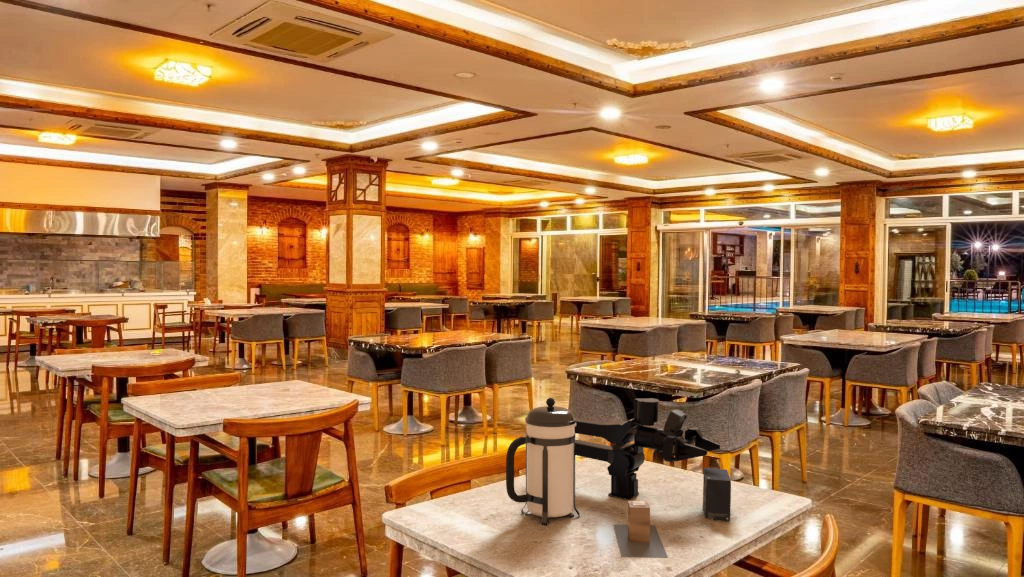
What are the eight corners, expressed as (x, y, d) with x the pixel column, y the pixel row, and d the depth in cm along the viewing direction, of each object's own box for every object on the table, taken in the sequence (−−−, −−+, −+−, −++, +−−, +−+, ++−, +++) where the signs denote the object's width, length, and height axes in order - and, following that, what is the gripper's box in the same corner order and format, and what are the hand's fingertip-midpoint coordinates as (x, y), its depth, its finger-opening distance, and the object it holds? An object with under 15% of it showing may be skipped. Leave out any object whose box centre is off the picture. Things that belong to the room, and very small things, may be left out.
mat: (613, 526, 172) (613, 524, 172) (654, 527, 171) (654, 525, 171) (621, 558, 152) (621, 556, 152) (668, 560, 152) (668, 557, 152)
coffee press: (527, 503, 189) (527, 391, 188) (586, 510, 184) (586, 394, 183) (505, 525, 173) (505, 402, 172) (568, 533, 167) (569, 406, 167)
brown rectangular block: (626, 534, 165) (626, 499, 165) (647, 534, 165) (647, 500, 165) (628, 542, 161) (629, 506, 160) (649, 542, 160) (650, 506, 160)
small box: (731, 522, 175) (732, 480, 175) (704, 520, 176) (704, 478, 176) (727, 508, 185) (728, 468, 185) (701, 506, 187) (702, 467, 186)
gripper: (643, 413, 182) (701, 423, 173) (672, 405, 197) (728, 413, 188) (640, 456, 182) (699, 468, 173) (670, 445, 197) (725, 455, 188)
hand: (713, 449), depth 180 cm, fingers open, 9 cm apart
